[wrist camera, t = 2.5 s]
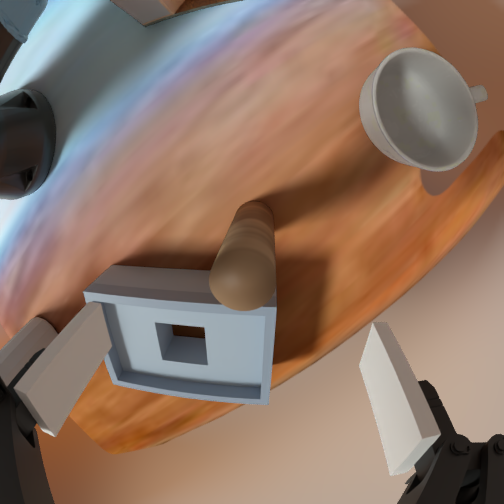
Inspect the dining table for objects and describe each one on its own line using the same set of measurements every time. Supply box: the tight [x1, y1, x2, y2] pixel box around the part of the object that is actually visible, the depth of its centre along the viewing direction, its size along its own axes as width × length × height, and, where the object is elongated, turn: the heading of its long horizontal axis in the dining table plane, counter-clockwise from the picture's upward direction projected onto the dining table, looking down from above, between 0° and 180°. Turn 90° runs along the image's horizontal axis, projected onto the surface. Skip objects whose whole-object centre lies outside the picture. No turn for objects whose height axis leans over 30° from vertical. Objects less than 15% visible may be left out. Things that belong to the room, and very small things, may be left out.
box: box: [83, 265, 277, 405], centre depth 32 cm, size 14×20×7 cm
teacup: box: [359, 48, 488, 172], centre depth 21 cm, size 14×11×8 cm
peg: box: [209, 201, 276, 311], centre depth 24 cm, size 4×4×14 cm
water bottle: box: [0, 317, 58, 386], centre depth 28 cm, size 9×8×25 cm
